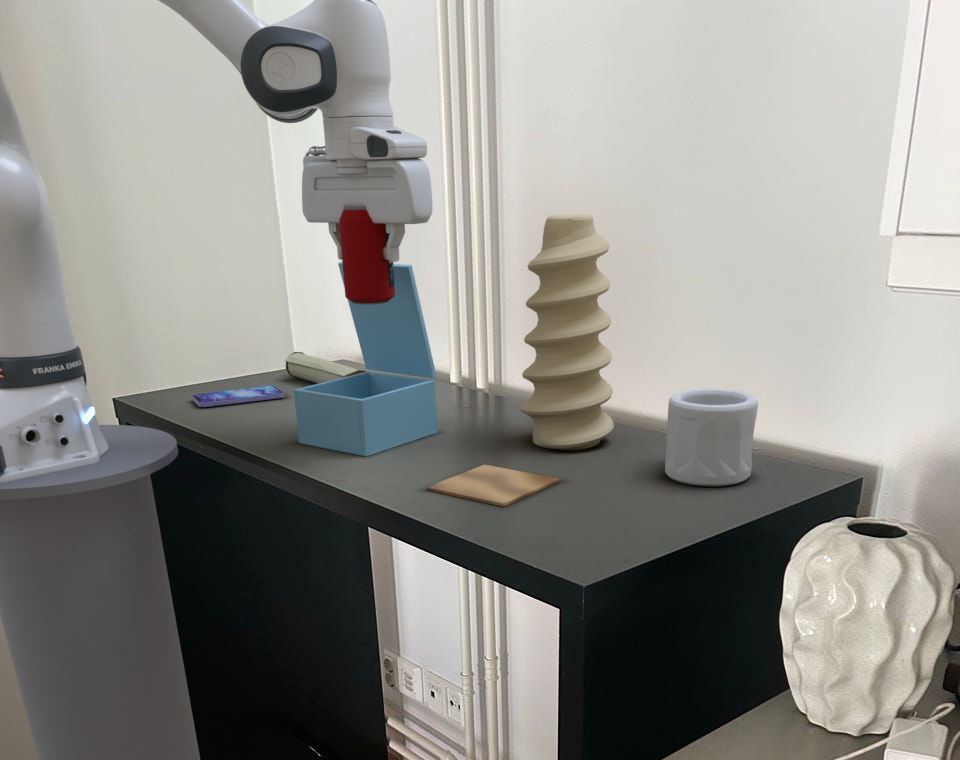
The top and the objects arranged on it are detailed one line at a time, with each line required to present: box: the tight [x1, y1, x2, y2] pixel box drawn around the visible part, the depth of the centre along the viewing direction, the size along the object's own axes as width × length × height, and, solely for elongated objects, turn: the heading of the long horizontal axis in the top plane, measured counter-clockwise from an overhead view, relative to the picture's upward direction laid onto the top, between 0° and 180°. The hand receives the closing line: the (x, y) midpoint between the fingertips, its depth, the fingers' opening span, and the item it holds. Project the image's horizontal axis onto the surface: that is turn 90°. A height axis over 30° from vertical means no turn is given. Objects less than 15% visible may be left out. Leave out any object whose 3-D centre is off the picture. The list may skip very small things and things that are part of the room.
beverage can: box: [339, 206, 395, 305], centre depth 131 cm, size 7×7×12 cm
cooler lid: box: [337, 260, 437, 379], centre depth 145 cm, size 16×14×1 cm
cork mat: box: [426, 464, 561, 508], centre depth 125 cm, size 12×12×1 cm
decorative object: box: [520, 214, 615, 451], centre depth 137 cm, size 13×13×30 cm
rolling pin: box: [284, 351, 367, 384], centre depth 180 cm, size 32×6×5 cm, turn 35°
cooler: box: [293, 371, 438, 457], centre depth 146 cm, size 16×14×8 cm
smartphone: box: [191, 384, 285, 408], centre depth 174 cm, size 7×1×15 cm
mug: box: [664, 388, 759, 487], centre depth 125 cm, size 14×11×10 cm
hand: (368, 260), depth 131 cm, fingers closed on beverage can, 7 cm apart
